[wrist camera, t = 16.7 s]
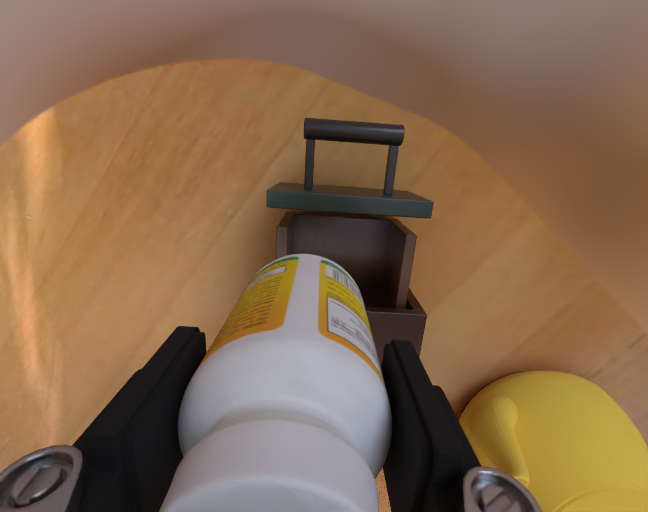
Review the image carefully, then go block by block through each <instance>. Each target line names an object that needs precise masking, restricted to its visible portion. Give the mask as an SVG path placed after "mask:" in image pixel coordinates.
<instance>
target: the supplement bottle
mask: <svg viewBox="0 0 648 512" xmlns="http://www.w3.org/2000/svg"><path fill="white" fill-rule="evenodd" d="M178 438H179V444H180V448H181V452H182V455H183V459H182V461H181V462H180V464H179V465H178V467H177V470H176V472H175V475H174V477H173V480H172V483H171V486H170V488H169V490H168V492H167V495H166V497H165V499H164V502H163V504H162V506H161V508H160V511H159V512H379V507H378V493H377V487H376V483H375V479H376V477H377V476H378V474H379V472H380V471H381V469H382V467H383V465H384V463H385V460H386V458H387V455H388V452H389V448H390V444H391V438H392V414H391V407H390V402H389V398H388V394H387V390H386V386H385V382H384V379H383V375H382V371H381V367H380V363H379V360H378V356H377V351H376V348H375V344H374V341H373V337H372V333H371V330H370V325H369V321H368V318H367V314H366V310H365V306H364V302H363V299H362V296H361V293H360V291H359V288H358V286H357V285H356V283H355V281H354V280H353V279H352V277H351V276H350V275H349V274H348V273H347V272H346V271H345V270H344V269H343V268H342V267H341V266H339V265H338V264H336V263H335V262H333V261H331V260H329V259H326V258H324V257H320V256H317V255H312V254H293V255H287V256H284V257H281V258H279V259H277V260H275V261H273V262H271V263H269V264H267V265H266V266H264V267H263V268H262V269H261V270H259V271H258V272H257V273H256V274H255V276H254V277H253V278H252V279H251V281H250V282H249V284H248V285H247V287H246V288H245V290H244V292H243V294H242V295H241V297H240V298H239V300H238V302H237V304H236V305H235V307H234V309H233V310H232V312H231V314H230V315H229V317H228V319H227V320H226V322H225V324H224V325H223V327H222V329H221V330H220V332H219V334H218V335H217V337H216V339H215V340H214V342H213V344H212V345H211V347H210V349H209V350H208V352H207V353H206V355H205V357H204V358H203V360H202V362H201V363H200V365H199V367H198V368H197V370H196V372H195V373H194V375H193V377H192V378H191V380H190V382H189V384H188V386H187V388H186V391H185V393H184V395H183V399H182V402H181V405H180V410H179V416H178Z"/></svg>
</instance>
